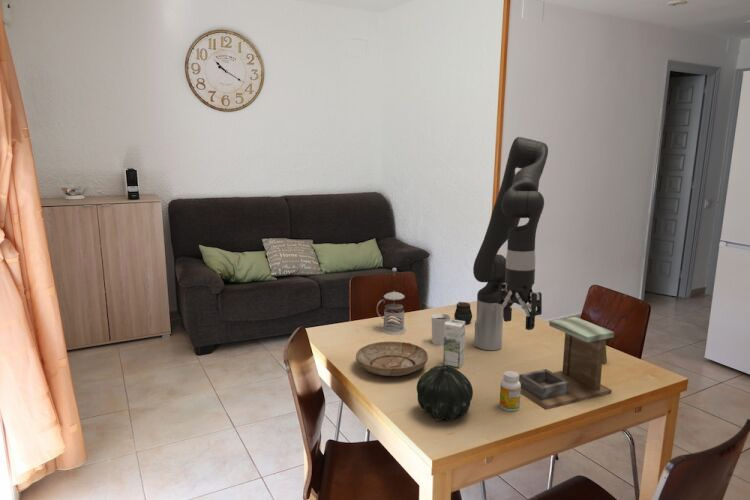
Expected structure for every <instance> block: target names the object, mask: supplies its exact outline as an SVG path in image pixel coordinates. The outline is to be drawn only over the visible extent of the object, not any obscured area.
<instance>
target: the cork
mask: <svg viewBox="0 0 750 500" xmlns="http://www.w3.org/2000/svg"><path fill="white" fill-rule="evenodd" d="M607 357H608V355H607V339H604V349H603V360H602V365H605V364H607V363H608V360H607V359H608V358H607Z"/></svg>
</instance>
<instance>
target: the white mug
mask: <svg viewBox="0 0 750 500" xmlns="http://www.w3.org/2000/svg"><path fill="white" fill-rule="evenodd" d="M448 319H451V315H449V314H445V313H433V314H432V315H431V337H432V338H431V343H432V344H433V345H435V346H444V324H445V322H446V321H447V320H448Z"/></svg>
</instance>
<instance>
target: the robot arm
mask: <svg viewBox="0 0 750 500" xmlns="http://www.w3.org/2000/svg"><path fill="white" fill-rule="evenodd" d="M510 146H511V147H510V149H509V153H508V157H507V161H506V164H505V168H504V172H503V178H502V181H501V185H500V188H499V190H498V193H497V197H496V200H495V202H494V206H493V209H492V211H491V216H490V219H489V223H488V226H487V229H486V232H485V234H484V238H483V240H482V243H481V245H480V248H479V249H478V252H477V254H476V257H475V259H474V262H473V267H472V269H473V270H472V271H473V276H474V278H475V280H476V281H477V282H479V283H486V284H485V286H483V287H482V288H481V289H479V290H478V291H477V296H476V299H477V300H476V320H475V321H474V340H473V341H474V342H473V343H474V345H473V347H474V348H478V349H481V350H484V351H497V350H501V348H502V347H503V328H504V327H503V325H504V322H511V321H512V311H513V310H512V309H513V308H512V306H513V305H514V304H517V305H519V306H520V307H521V309H522V310H524V313H525V315H526V316H525V330H527V331H530V330H533V329H534V328H535V323H536V316H541V315H542V311H543V309H542V308H543V307H542V306H543V305H542V302H543V301H542V300H543V299H542V298H543V296H542V295H543V294H542V292H540V291H538V292H535V291H533V286H534V284H535V280H536V277H535V276H536V251H535V250H536V233H537V230H538V226H539V225H538V224H539V221H540V218H541V217H542V216H541V215H542V214H543V212H544V211H543V210H544V207H545V198H544V196H543V195H542V193H541V192H540V191H539V187H540V179H541V176H542V175H543V172H544V168H545V166H546V163H547V160H548V155H549V146H548V144H547V143H544V142H543V141H539V140H536V139H535V140H534V139H531V138H527V137H522V136H517V137H515V138H514V140H513V141H512V143H511V145H510ZM517 168H518V169H520V170H518V171H517V172H516V169H517ZM521 219H528V221H527V223H525V224H524V225H520V226H519V223H520V222H521V221H520V220H521ZM506 242H507V245H506V246H507V249H506V250H507V252H506V257H505V256H504V255H502V254H499V253H498V252H499V250H500V249H501V248H502V247H503V246H504V244H505V243H506Z"/></svg>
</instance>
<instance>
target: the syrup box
mask: <svg viewBox="0 0 750 500" xmlns="http://www.w3.org/2000/svg"><path fill="white" fill-rule="evenodd" d="M465 337H466V324H465V321H460V320H455V319H452V318H450V319H448V320H447V321H446V322H445V324H444V345H443V356H442V359H443V361H442V362H443V363H442V364H443V365H445V366H450V367H452V368H456V369H457V368H458V369H460V368H461V367H462V365H463V364H464V363H465V344H466V343H465V339H466V338H465Z"/></svg>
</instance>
